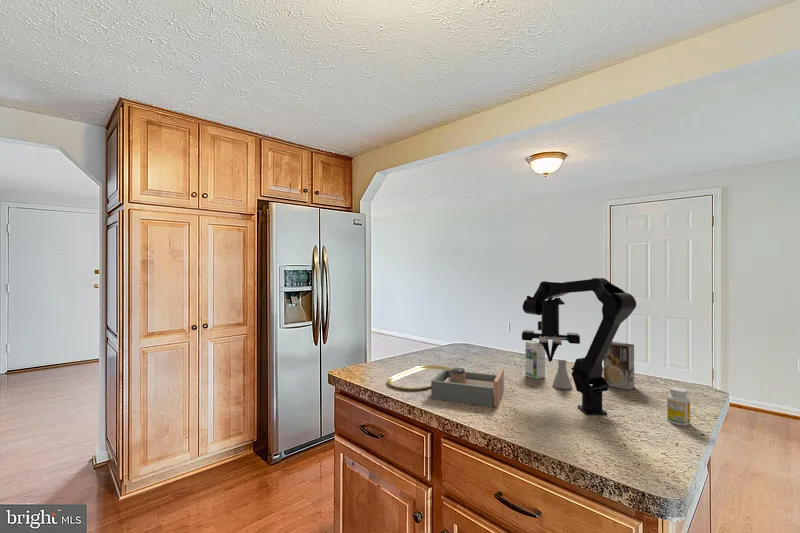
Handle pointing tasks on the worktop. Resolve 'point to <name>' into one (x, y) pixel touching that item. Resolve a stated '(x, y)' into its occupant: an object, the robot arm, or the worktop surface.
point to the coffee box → (619, 365)
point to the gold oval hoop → (413, 372)
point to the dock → (463, 389)
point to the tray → (490, 385)
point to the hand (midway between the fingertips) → (550, 361)
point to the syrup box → (534, 360)
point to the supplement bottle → (678, 407)
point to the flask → (562, 377)
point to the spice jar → (458, 375)
